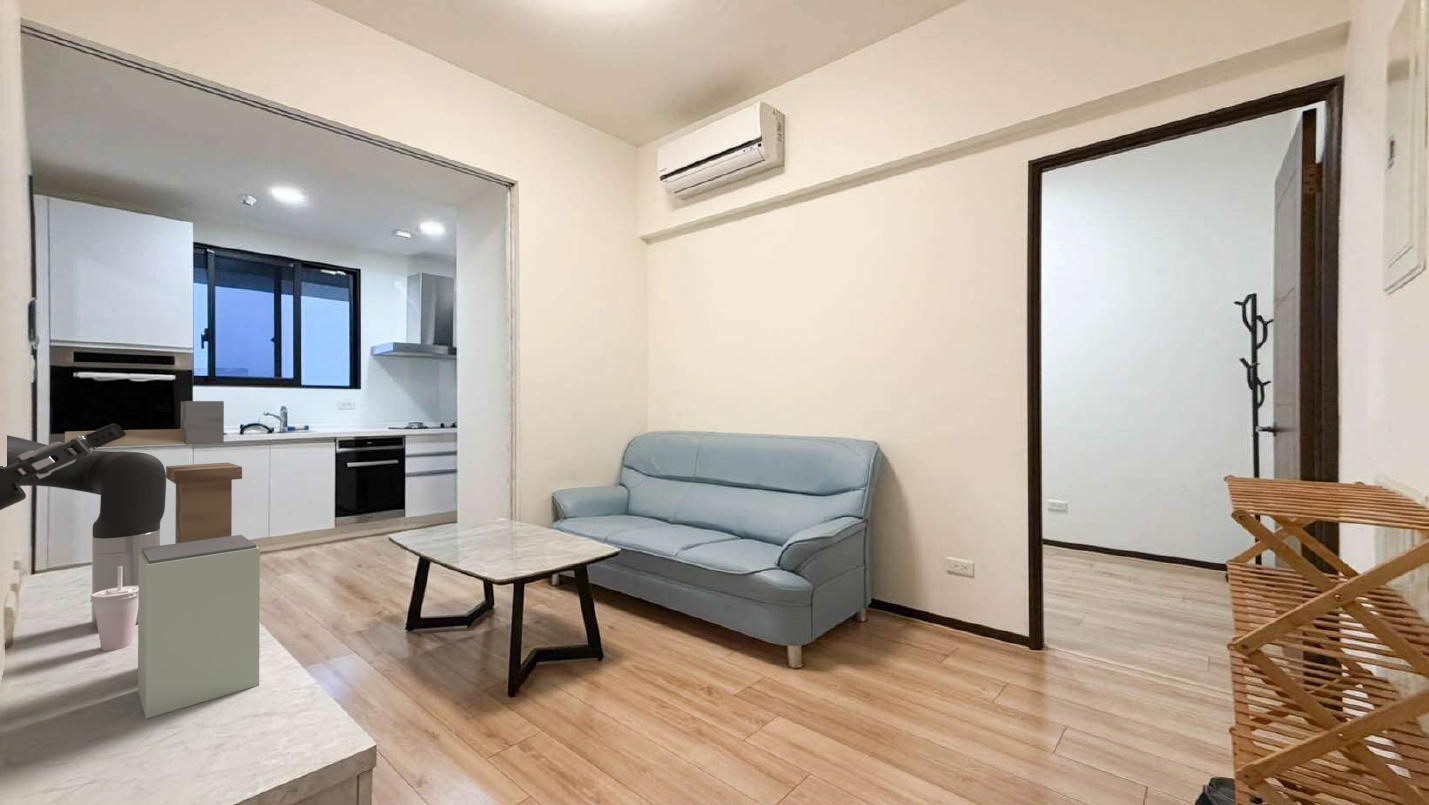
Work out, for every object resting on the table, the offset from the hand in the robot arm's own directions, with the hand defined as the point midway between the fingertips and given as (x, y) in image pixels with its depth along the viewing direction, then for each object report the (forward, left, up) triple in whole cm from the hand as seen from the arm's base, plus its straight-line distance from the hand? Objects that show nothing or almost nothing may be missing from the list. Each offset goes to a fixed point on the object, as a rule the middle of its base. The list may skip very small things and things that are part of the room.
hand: (120, 428), depth 87 cm
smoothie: (-18, +1, -39) cm, 43 cm away
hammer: (0, +2, -3) cm, 4 cm away
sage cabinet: (+13, +8, -39) cm, 41 cm away
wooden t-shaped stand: (0, +10, -39) cm, 40 cm away
